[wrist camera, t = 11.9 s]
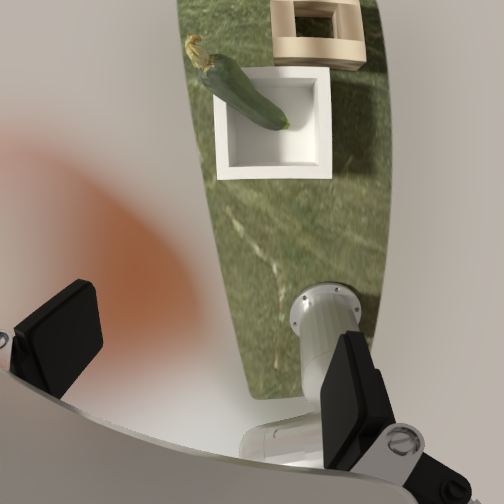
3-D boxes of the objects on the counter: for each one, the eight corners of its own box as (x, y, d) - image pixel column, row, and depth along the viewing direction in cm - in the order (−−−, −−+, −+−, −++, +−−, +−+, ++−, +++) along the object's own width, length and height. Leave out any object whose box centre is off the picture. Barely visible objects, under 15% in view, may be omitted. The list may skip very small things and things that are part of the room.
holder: (349, 4, 32) (357, -11, 26) (356, 70, 36) (366, 61, 30) (271, 1, 33) (269, -16, 27) (274, 67, 37) (273, 57, 32)
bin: (321, 79, 37) (329, 67, 30) (323, 171, 42) (331, 178, 35) (225, 81, 39) (212, 70, 31) (228, 172, 44) (217, 179, 36)
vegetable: (269, 143, 40) (161, 69, 23) (264, 120, 41) (163, 45, 24) (297, 131, 38) (196, 43, 21) (290, 107, 39) (195, 20, 22)
